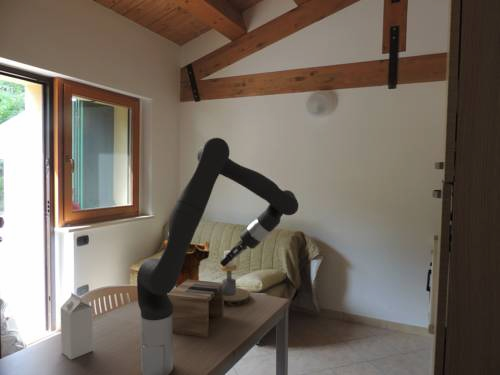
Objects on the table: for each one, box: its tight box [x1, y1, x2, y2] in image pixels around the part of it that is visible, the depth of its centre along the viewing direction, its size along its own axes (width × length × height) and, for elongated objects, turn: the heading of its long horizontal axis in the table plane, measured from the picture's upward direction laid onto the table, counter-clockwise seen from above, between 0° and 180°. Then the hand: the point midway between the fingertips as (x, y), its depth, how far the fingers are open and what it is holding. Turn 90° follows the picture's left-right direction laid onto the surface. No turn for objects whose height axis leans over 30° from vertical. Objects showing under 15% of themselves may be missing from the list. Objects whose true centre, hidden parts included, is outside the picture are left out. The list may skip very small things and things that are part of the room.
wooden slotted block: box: [167, 279, 224, 338], centre depth 133 cm, size 18×16×14 cm
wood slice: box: [224, 287, 251, 307], centre depth 158 cm, size 16×16×3 cm
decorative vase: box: [163, 239, 211, 288], centre depth 161 cm, size 21×23×28 cm
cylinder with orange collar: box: [220, 250, 238, 296], centre depth 129 cm, size 6×6×16 cm
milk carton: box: [60, 292, 94, 361], centre depth 111 cm, size 7×7×19 cm
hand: (224, 262), depth 129 cm, fingers closed on cylinder with orange collar, 4 cm apart
